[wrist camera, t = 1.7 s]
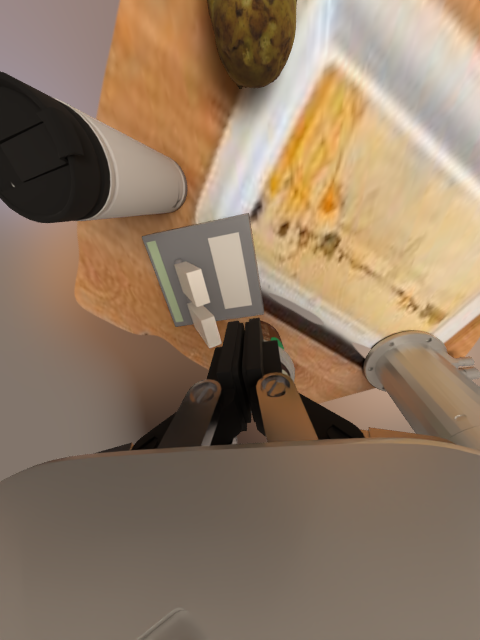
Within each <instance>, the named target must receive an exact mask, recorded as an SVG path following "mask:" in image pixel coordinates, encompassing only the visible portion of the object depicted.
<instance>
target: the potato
mask: <svg viewBox="0 0 480 640" xmlns="http://www.w3.org/2000/svg"><path fill="white" fill-rule="evenodd" d="M207 3H208V9H209V14H210V18H211V22H212V26H213V30H214V34H215V40H216V45H217V50H218V53H219V56H220V59H221V61H222V63H223V65H224V67H225V69H226V71H227V73H228V75H229V76H230V78H231V79H232V80H233V81H234V82H235V83H236V84H237V86H238V87H239V89H242V87H245V88H246V87H249V88H260V87H264V86H266V85H268V84H270V83H271V82H274V80H276V79H277V77H278V76H279V75H280V73H281V71H282V70H283V68H284V66H285V64H286V62H287V60H288V57H289V55H290V52H291V49H292V46H293V42H294V37H295V30H296V4H297V0H207Z"/></svg>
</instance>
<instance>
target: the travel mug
mask: <svg viewBox="0 0 480 640" xmlns="http://www.w3.org/2000/svg"><path fill="white" fill-rule="evenodd" d="M186 196H187V181H186V177H185V175H184V172H183V171H182V169H181V167H180V166H179V165H178V164H177V163H176V162H175V161H174V160H172V159H171V158H169V157H167V156H165V155H163V154H161V153H159V152H157V151H155V150H154V149H152V148H150V147H148V146H146V145H144V144H142V143H140V142H138V141H136V140H135V139H133V138H131V137H129V136H127V135H125V134H123V133H121V132H119V131H117V130H116V129H114V128H112V127H110V126H108V125H106V124H104V123H102V122H100V121H98V120H97V119H95V118H93V117H91V116H89V115H87V114H85V113H83V112H81V111H79V110H78V109H76V108H74V107H72V106H70V105H68V104H66V103H64V102H62V101H60V100H58V99H56V98H52V97H50V96H48V95H46V94H44V93H42V92H41V91H39V90H37V89H35V88H33V87H31V86H29V85H27V84H25V83H23V82H21V81H19V80H17V79H15V78H13V77H12V76H10V75H8V74H6V73H4V72H0V198H1V199H2V201H3V202H4V203H5V204H6V205H7V206H8V207H9V208H11V209H12V210H14V211H15V212H17V213H18V214H19V215H21V216H23V217H25V218H28V219H29V220H33V221H36V222H41V223H55V222H65V221H86V220H97V219H108V218H118V217H129V216H139V215H150V214H160V213H170V212H174V211H176V210H178V209H179V208H180V207H181V206H182V205H183V203H184V201H185V199H186Z"/></svg>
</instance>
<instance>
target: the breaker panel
mask: <svg viewBox="0 0 480 640" xmlns="http://www.w3.org/2000/svg"><path fill="white" fill-rule="evenodd" d="M142 239H143V241H144V244H145V247H146V249H147V252H148V255H149V257H150V260H151V263H152V265H153V268H154V271H155V273H156V276H157V279H158V281H159V284H160V287H161V289H162V292H163V295H164V297H165V300H166V303H167V305H168V308H169V311H170V313H171V316H172V319H173V321H174V324H175V327H178V326H185V325H192V324H194V323H193V320H192V317H191V314H190V311H189V308H188V305H187V304H188V300H187V298H188V297H187V296H186V295H185V294H184V293H183V290H182V287H181V284H180V281H179V278H178V275H177V272H176V269H175V266H174V265H175V260H177V259H181V260H182V262H185V261H186V262H188V263H190V264H192V265H194V266H196V267H198V268H200V269H201V270H202V274H203V278H204V281H205V285H206V288H207V292H208V296H209V299H210V303H207V304H205V305H203V306H204V307H205V308H206V309H207V310H209V311H210V312H211V313H212V314H213V315H214V317H215V321H220V320H227V319H234V318H241V317H248V316H256V315H263V314H264V306H263V299H262V293H261V287H260V280H259V274H258V268H257V261H256V255H255V249H254V242H253V236H252V230H251V223H250V217H249V213H247V214H242V215H237V216H233V217H228V218H223V219H219V220H214V221H209V222H205V223H200V224H195V225H191V226H186V227H181V228H177V229H172V230H167V231H163V232H158V233H153V234H149V235H146V236H142Z"/></svg>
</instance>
